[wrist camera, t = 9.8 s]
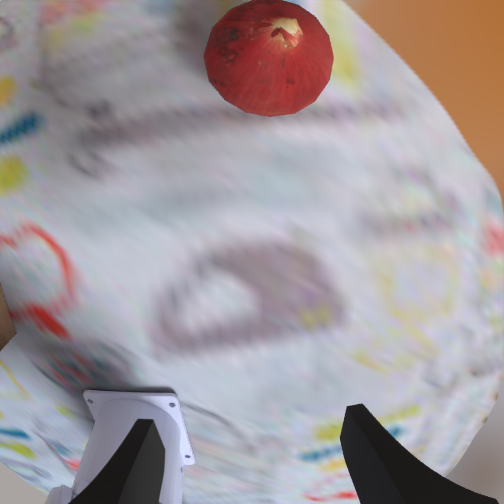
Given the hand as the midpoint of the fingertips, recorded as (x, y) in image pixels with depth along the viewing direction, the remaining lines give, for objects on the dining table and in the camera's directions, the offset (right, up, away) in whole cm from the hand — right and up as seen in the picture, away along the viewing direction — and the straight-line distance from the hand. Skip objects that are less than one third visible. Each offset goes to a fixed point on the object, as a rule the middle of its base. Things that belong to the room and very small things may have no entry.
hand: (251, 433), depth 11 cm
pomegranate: (0, +17, +6) cm, 18 cm away
